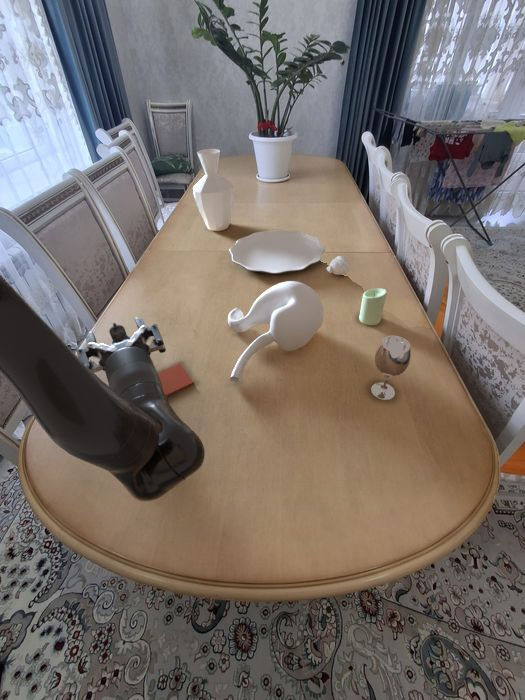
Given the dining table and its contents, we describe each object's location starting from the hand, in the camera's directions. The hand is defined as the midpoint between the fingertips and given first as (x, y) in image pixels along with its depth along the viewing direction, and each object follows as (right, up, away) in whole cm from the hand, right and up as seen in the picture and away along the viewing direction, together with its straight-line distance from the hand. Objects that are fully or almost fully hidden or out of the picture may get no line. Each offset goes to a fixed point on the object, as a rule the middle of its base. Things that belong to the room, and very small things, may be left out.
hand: (114, 328), depth 67 cm
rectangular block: (+5, -13, +3) cm, 14 cm away
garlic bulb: (+50, +17, +34) cm, 62 cm away
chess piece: (0, -8, +9) cm, 12 cm away
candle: (+54, +3, +17) cm, 57 cm away
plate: (+33, +26, +44) cm, 61 cm away
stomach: (+31, -3, +12) cm, 34 cm away
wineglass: (+52, -12, 0) cm, 53 cm away
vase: (+12, +42, +64) cm, 78 cm away
